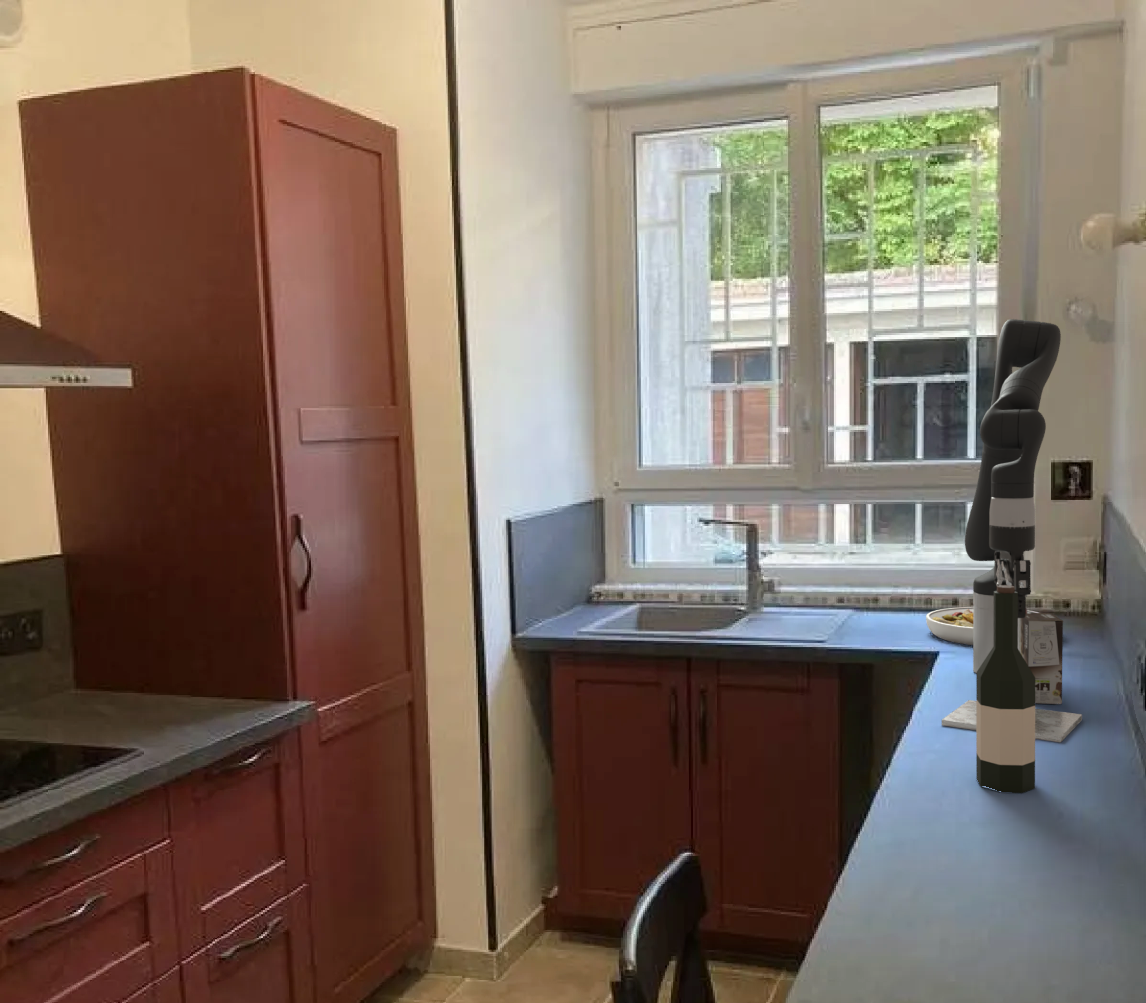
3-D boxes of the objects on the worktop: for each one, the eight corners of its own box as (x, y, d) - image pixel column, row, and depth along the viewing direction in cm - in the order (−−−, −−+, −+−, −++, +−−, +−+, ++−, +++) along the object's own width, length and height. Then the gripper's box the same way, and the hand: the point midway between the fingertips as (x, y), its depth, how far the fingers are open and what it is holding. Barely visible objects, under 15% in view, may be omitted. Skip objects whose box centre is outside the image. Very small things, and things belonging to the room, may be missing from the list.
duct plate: (968, 705, 211) (968, 674, 210) (1082, 720, 199) (1082, 687, 198) (941, 725, 198) (941, 692, 197) (1060, 742, 186) (1061, 707, 186)
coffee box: (1063, 704, 209) (1064, 620, 208) (1027, 703, 211) (1027, 620, 209) (1052, 692, 218) (1053, 611, 217) (1018, 692, 220) (1018, 611, 218)
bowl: (1047, 654, 253) (1048, 620, 252) (913, 644, 268) (913, 612, 267) (1063, 630, 279) (1063, 599, 278) (940, 622, 294) (940, 593, 293)
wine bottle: (1029, 797, 161) (1030, 592, 158) (970, 788, 165) (970, 589, 163) (1039, 780, 168) (1040, 584, 165) (982, 772, 172) (982, 581, 170)
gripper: (1046, 526, 188) (1045, 621, 189) (1022, 518, 202) (1021, 606, 204) (1001, 527, 189) (1000, 621, 190) (980, 519, 203) (979, 606, 204)
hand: (1011, 613), depth 197 cm, fingers open, 8 cm apart
